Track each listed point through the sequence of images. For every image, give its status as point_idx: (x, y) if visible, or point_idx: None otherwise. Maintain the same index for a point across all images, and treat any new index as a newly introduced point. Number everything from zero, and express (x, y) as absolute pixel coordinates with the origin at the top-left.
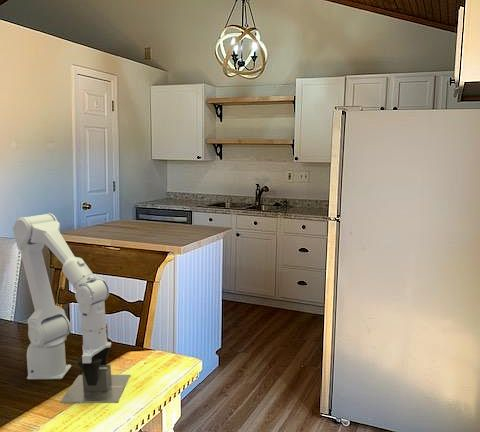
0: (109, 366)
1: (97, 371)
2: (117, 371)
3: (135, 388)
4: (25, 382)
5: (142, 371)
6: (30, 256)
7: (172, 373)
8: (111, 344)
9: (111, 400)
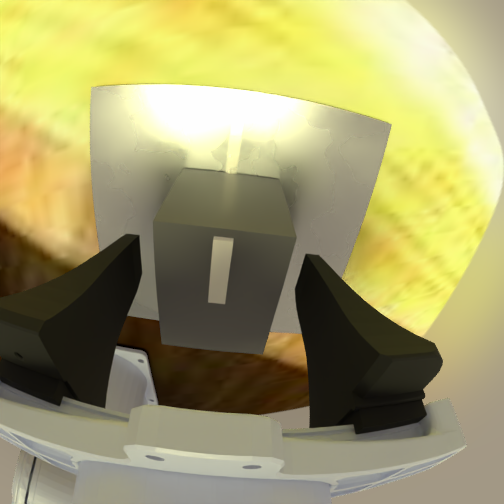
0: (183, 224)
1: (368, 307)
2: (52, 167)
3: (250, 30)
4: (170, 402)
5: (56, 41)
6: None
7: None
8: (1, 312)
9: (378, 152)
